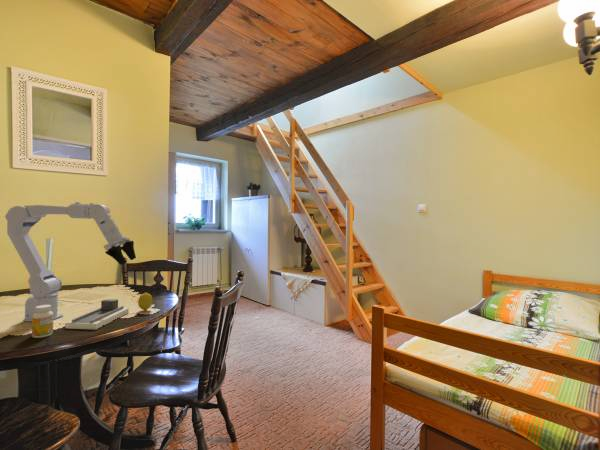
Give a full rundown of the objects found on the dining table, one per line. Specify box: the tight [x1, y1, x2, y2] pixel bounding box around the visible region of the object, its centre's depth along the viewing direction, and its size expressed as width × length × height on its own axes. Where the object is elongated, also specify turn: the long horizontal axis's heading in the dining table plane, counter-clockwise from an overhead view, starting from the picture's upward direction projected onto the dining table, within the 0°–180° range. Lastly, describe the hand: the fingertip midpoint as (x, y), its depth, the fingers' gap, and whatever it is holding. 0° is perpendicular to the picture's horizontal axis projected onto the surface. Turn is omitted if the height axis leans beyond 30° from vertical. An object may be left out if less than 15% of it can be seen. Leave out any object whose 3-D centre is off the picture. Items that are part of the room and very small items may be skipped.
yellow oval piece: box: [137, 292, 153, 312], centre depth 133 cm, size 6×6×8 cm
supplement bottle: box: [31, 305, 54, 339], centre depth 102 cm, size 5×5×10 cm
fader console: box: [65, 305, 129, 330], centre depth 119 cm, size 11×20×3 cm, turn 179°
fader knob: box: [100, 298, 119, 311], centre depth 125 cm, size 5×3×4 cm, turn 89°
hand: (128, 261), depth 124 cm, fingers open, 7 cm apart
